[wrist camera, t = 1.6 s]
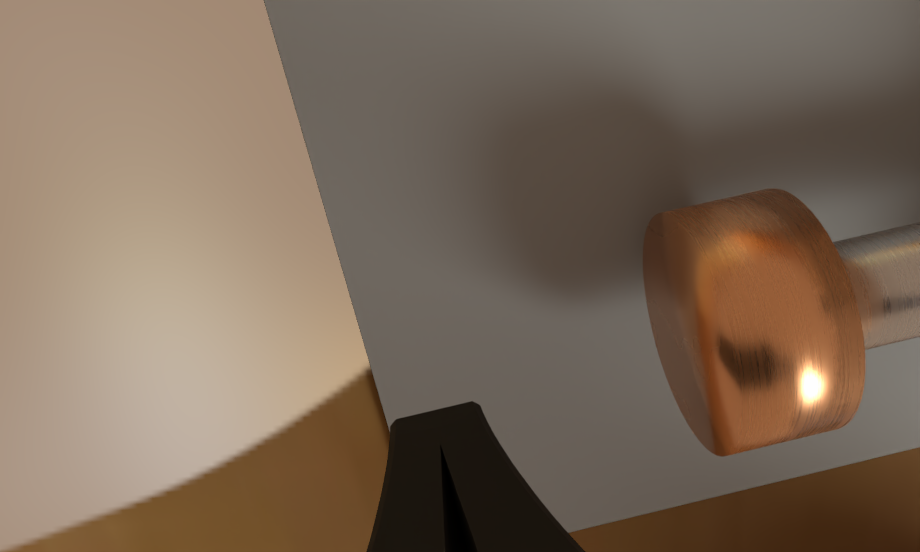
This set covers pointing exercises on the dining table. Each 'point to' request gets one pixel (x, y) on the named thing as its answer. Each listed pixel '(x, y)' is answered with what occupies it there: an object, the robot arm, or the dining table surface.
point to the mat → (593, 208)
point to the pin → (772, 315)
